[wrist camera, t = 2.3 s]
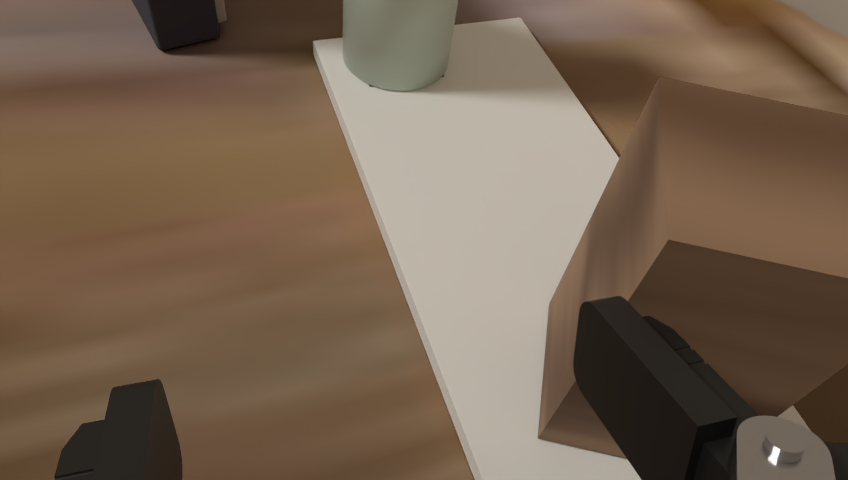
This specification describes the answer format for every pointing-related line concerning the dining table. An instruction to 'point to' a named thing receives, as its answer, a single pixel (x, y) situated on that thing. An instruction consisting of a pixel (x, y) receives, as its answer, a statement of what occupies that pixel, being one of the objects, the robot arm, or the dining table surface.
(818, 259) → the walnut block
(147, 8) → the miniature cabinet
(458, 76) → the board
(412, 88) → the sage cylinder
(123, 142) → the dining table surface
